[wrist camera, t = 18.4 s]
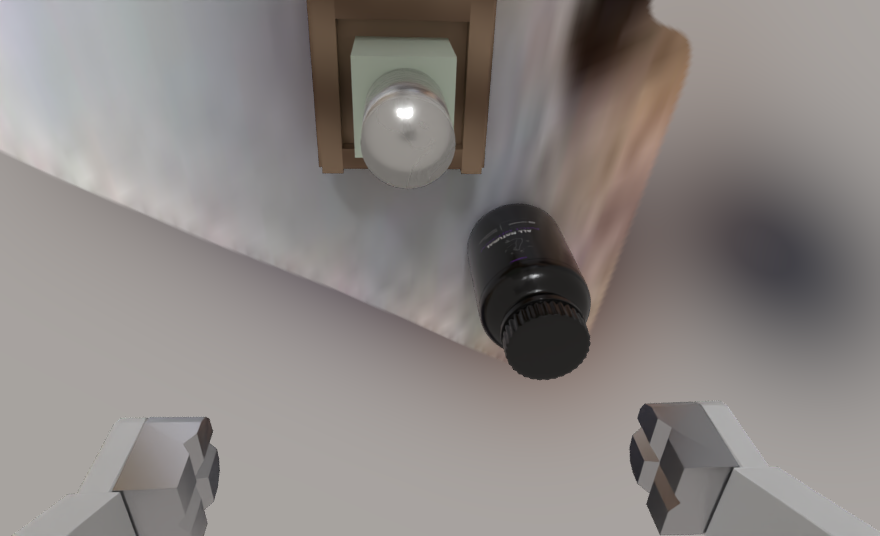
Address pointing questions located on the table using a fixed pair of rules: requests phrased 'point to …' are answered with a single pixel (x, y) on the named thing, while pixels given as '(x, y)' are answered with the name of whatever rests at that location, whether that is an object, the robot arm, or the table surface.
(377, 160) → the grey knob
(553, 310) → the supplement bottle
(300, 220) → the table surface
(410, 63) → the sage cube
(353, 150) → the walnut base
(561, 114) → the table surface
